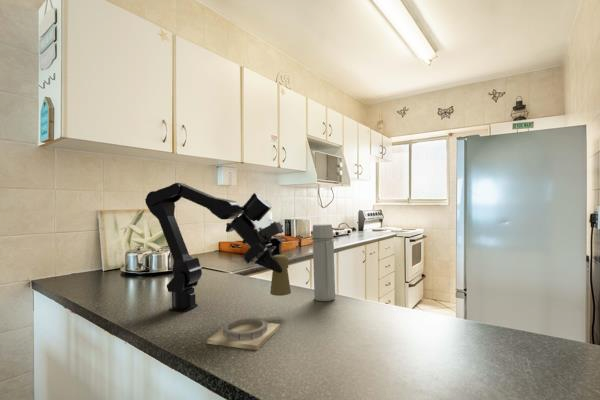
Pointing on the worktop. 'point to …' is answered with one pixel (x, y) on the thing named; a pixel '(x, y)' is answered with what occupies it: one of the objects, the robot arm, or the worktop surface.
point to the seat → (244, 333)
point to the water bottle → (323, 262)
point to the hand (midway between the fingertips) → (284, 270)
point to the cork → (280, 277)
